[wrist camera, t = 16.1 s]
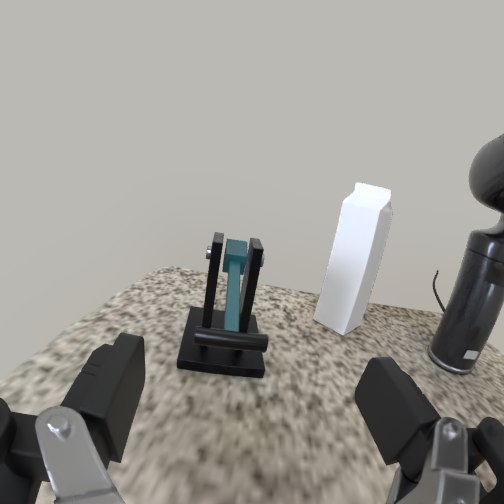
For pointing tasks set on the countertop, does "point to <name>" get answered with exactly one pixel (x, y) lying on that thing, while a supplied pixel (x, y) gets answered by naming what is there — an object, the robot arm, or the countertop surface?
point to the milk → (354, 258)
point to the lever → (232, 308)
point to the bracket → (207, 317)
